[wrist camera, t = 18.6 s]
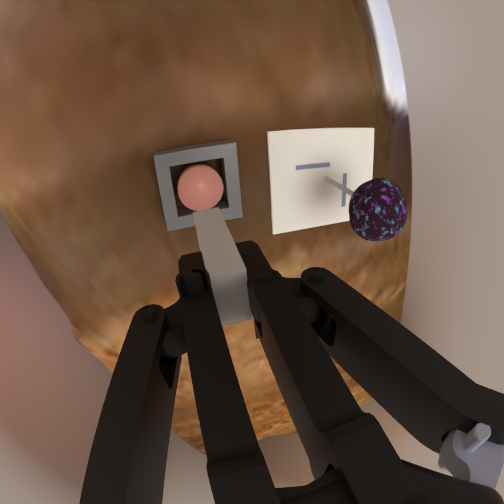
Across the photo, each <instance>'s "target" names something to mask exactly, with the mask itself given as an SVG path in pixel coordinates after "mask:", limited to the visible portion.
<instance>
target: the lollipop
mask: <svg viewBox="0 0 504 504" xmlns="http://www.w3.org/2000/svg"><path fill="white" fill-rule="evenodd" d="M324 179H325V181H327V182H328V183H330V184H332V185H333V186H335V187H337V188H338V189H340V190H342V191H343V192H345V193H347V194H348V195H350V196H351V198H350V202H349V219H350V224H351V226H352V228H353V230H354V231H355V232H356V233H357V234H358V235H359V236H360V237H361V238H363V239H365V240H368V241H383V240H388V239H390V238H392V237H394V236H396V235H397V234H398V233H399V232H400V231H401V230H402V228H403V227H404V225H405V222H406V219H407V213H408V210H407V203H406V200H405V198H404V195H403V193H402V191H401V189H400V187H399V186H398V185H397V184H395V183H394V182H392V181H390V180H388V179H385V178H375V179H372V180H369V181H367V182H365V183H363V184H361V185H360V186H359V187H358V188H357V189H356V190H355V191H352V190H350V189H348V188H347V187H345V186H343V185H342V184H340V183H338V182H336V181H335V180H333V179H331V178H329V177H327V176H326V177H325V178H324Z"/></svg>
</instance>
